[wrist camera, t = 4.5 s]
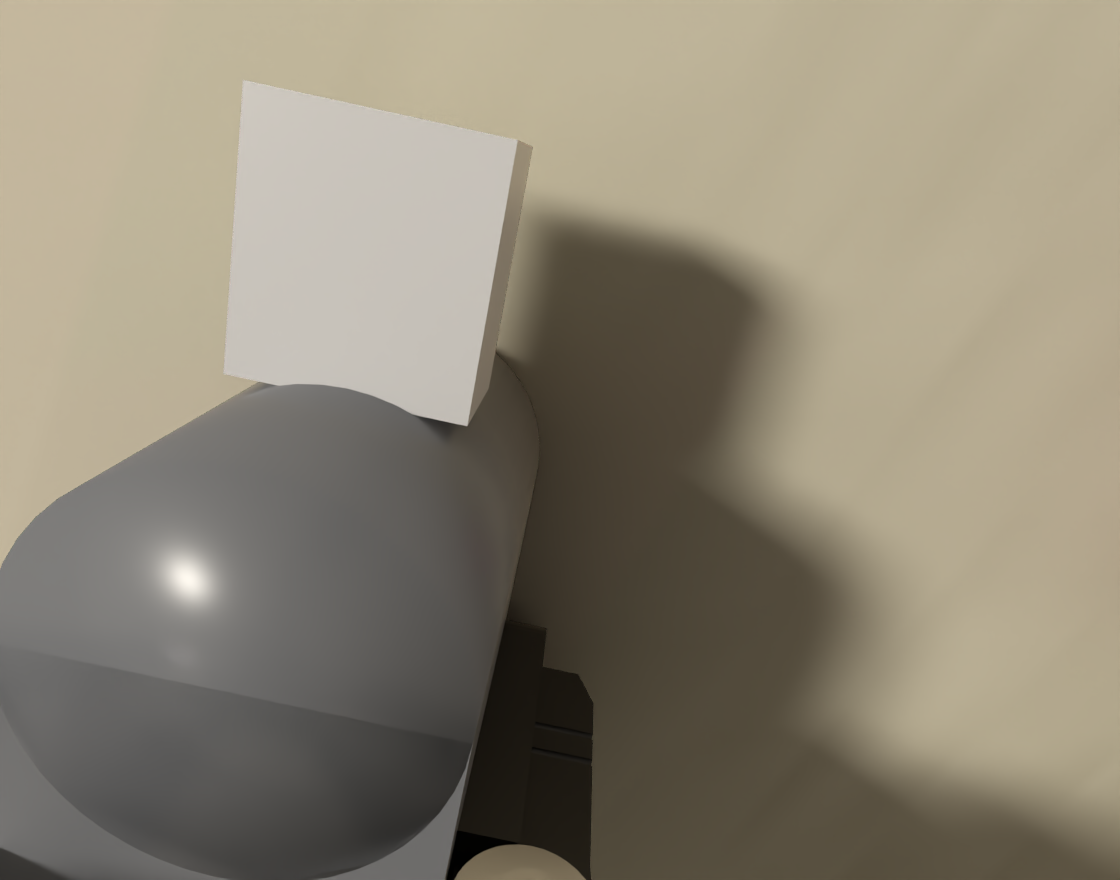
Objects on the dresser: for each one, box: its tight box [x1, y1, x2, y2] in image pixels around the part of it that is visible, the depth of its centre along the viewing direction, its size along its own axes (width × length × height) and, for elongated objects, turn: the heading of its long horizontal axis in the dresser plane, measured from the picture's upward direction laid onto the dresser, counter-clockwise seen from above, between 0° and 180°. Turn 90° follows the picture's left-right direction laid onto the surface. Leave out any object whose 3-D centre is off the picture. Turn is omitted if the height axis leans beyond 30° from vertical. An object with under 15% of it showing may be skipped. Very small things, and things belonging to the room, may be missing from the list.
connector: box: [0, 80, 540, 880], centre depth 8 cm, size 11×3×5 cm, turn 168°
